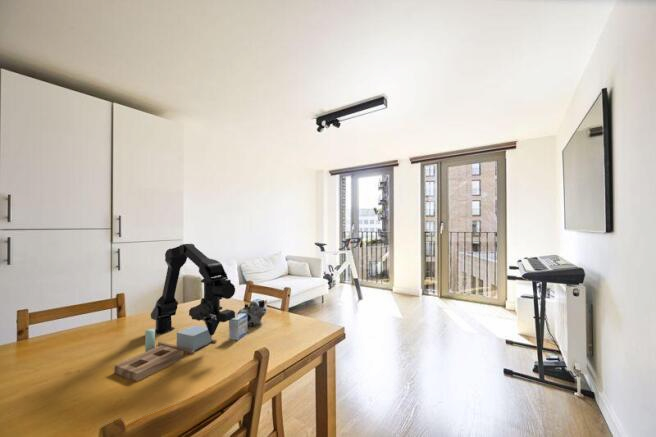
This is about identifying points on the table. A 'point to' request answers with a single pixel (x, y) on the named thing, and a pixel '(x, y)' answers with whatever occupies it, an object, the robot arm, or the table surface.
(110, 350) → the table surface
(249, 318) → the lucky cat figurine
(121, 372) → the board
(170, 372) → the table surface
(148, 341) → the teal peg
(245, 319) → the medicine box
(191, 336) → the cover
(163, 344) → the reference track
